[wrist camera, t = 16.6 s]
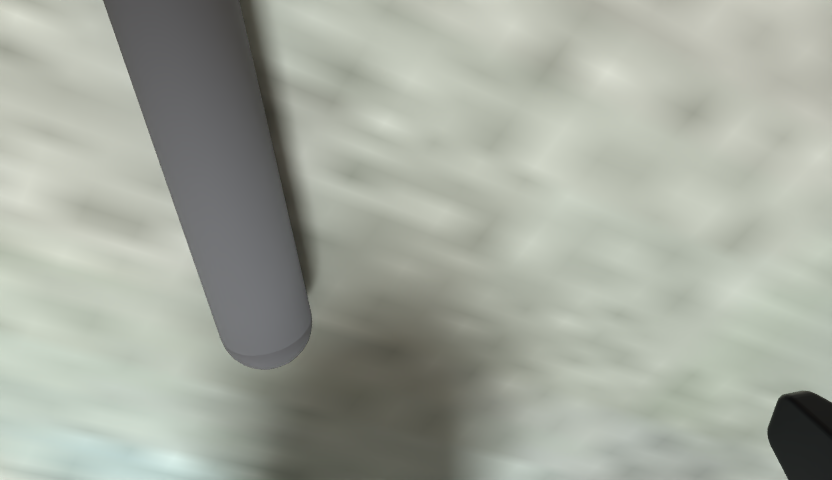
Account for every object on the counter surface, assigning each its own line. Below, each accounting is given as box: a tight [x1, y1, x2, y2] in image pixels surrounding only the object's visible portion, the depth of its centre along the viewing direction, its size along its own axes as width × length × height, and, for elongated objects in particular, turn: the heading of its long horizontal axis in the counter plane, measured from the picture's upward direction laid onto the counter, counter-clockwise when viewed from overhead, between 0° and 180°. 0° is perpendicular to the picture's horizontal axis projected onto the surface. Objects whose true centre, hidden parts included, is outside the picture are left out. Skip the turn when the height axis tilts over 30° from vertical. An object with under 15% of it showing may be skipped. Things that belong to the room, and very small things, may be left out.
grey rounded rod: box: [103, 0, 312, 369], centre depth 16 cm, size 18×3×3 cm, turn 4°
